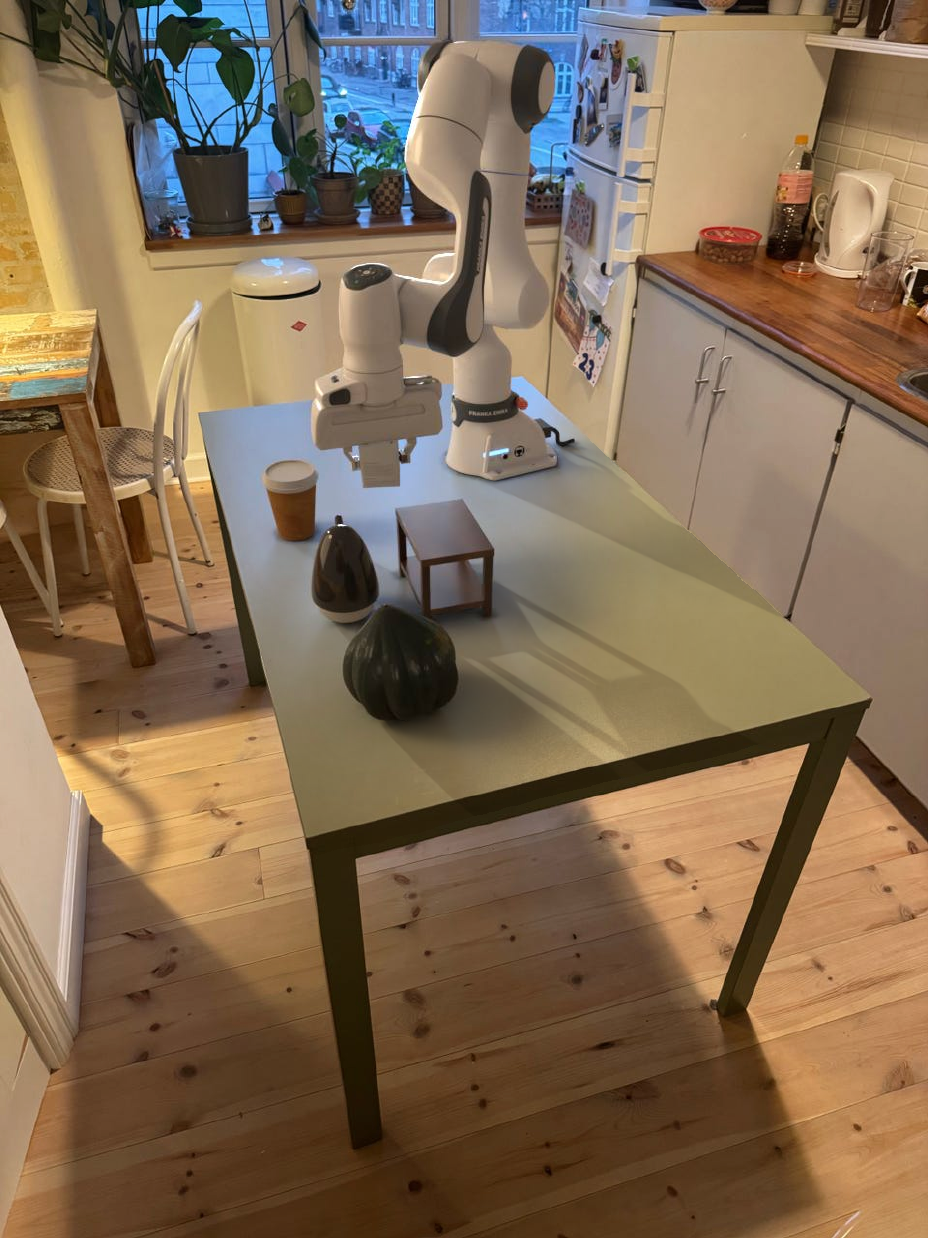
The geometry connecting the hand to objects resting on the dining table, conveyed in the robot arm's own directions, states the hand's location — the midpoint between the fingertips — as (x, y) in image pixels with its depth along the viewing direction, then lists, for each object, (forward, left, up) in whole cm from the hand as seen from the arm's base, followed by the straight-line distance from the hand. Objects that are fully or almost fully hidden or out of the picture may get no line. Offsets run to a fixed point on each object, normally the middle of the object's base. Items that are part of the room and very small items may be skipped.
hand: (380, 465), depth 140 cm
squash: (+6, +37, -17) cm, 41 cm away
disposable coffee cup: (+13, -12, -17) cm, 24 cm away
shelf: (-6, +14, -17) cm, 23 cm away
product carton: (0, 0, -3) cm, 3 cm away
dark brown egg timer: (+9, +15, -17) cm, 24 cm away
